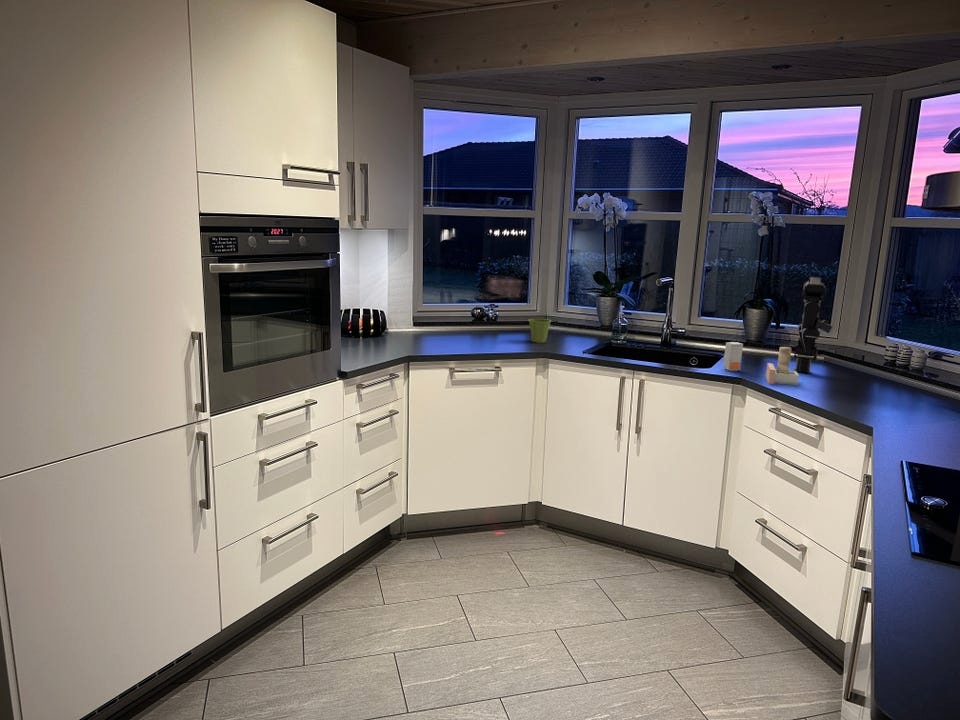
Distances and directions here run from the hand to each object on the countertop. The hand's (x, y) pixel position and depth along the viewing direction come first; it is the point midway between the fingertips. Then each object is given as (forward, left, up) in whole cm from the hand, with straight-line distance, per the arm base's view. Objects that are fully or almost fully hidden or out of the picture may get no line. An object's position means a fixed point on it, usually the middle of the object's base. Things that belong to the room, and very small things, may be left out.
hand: (805, 350), depth 283 cm
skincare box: (-4, -28, -12) cm, 31 cm away
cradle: (+12, -8, -12) cm, 19 cm away
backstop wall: (+12, -14, -12) cm, 22 cm away
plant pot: (-27, -121, -12) cm, 125 cm away
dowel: (+12, -9, -11) cm, 19 cm away
